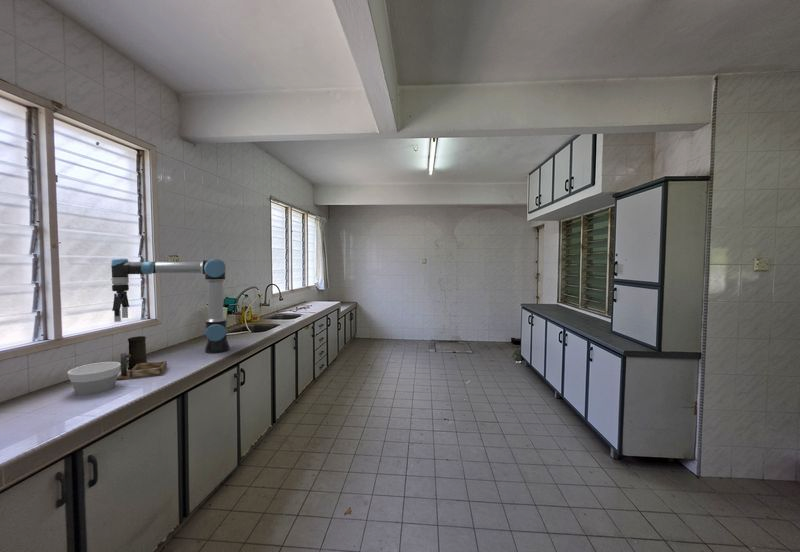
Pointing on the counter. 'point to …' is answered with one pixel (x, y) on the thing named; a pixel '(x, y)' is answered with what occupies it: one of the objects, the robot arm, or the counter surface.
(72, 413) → the counter surface
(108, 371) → the bowl
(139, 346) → the container
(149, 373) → the hook shelf
